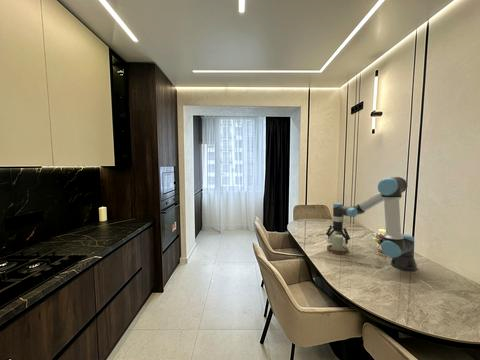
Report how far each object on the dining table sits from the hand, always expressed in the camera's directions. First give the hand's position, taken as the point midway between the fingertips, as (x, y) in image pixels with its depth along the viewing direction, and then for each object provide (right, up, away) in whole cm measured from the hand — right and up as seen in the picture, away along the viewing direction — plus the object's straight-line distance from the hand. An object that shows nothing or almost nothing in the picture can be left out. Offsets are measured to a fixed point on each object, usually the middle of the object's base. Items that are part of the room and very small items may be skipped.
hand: (337, 245), depth 193 cm
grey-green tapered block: (0, -4, 0) cm, 4 cm away
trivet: (0, -5, 0) cm, 5 cm away
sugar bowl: (+9, -3, +26) cm, 27 cm away
